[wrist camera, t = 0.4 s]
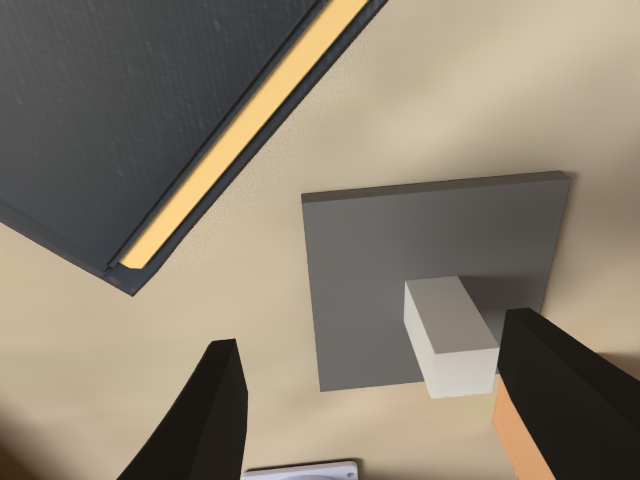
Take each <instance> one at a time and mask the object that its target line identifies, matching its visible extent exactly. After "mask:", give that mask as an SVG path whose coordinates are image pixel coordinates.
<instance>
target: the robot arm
mask: <svg viewBox="0 0 640 480" xmlns="http://www.w3.org/2000/svg"><path fill="white" fill-rule="evenodd" d="M497 368H498V370H499V373H500V375H501V378H502V380H503V383H504V385H505V388H506V390H507V392H508V395H509V397H510V399H511V401H512V403H513V405H514V407H515V409H516V411H517V412H518V414H519V416H520V418H521V420H522V421H523V423H524V425H525V427H526V428H527V430H528V432H529V434H530V435H531V437H532V439H533V441H534V442H535V444H536V446H537V448H538V449H539V451H540V453H541V455H542V456H543V458H544V460H545V462H546V463H547V465H548V467H549V469H550V470H551V472H552V474H553V476H554V478H555V479H556V480H640V381H639V380H637V379H635V378H634V377H632V376H630V375H629V374H627V373H625V372H624V371H622V370H621V369H619V368H618V367H616V366H615V365H613V364H611V363H610V362H608V361H607V360H605V359H604V358H602V357H601V356H599V355H598V354H596V353H595V352H593V351H592V350H590V349H589V348H587V347H586V346H585V345H583V344H582V343H580V342H579V341H577V340H576V339H574V338H573V337H572V336H570V335H569V334H567V333H566V332H564V331H563V330H561V329H560V328H559V327H557V326H556V325H554V324H553V323H551V322H550V321H549V320H547V319H546V318H544V317H543V316H541V315H540V314H538V313H537V312H535V311H534V310H532V309H531V308H529V307H527V308H518V309H508V310H506V314H505V320H504V326H503V332H502V338H501V343H500V349H499V355H498V361H497ZM247 413H248V390H247V386H246V382H245V378H244V373H243V369H242V365H241V360H240V356H239V352H238V348H237V343H236V339H227V340H217V341H212V342H211V343H210V344H209V345H208V347H207V349H206V351H205V353H204V354H203V356H202V358H201V360H200V361H199V363H198V365H197V367H196V368H195V370H194V372H193V373H192V375H191V377H190V378H189V380H188V382H187V383H186V385H185V386H184V388H183V390H182V391H181V393H180V394H179V396H178V397H177V399H176V400H175V402H174V404H173V405H172V407H171V408H170V410H169V411H168V413H167V414H166V415H165V417H164V418H163V420H162V421H161V422H160V424H159V425H158V427H157V428H156V429H155V431H154V432H153V434H152V435H151V436H150V438H149V439H148V441H147V442H146V443H145V445H144V446H143V447H142V448H141V450H140V451H139V452H138V454H137V455H136V456H135V457H134V459H133V460H132V461H131V462H130V464H129V465H128V466H127V467H126V469H125V470H124V471H123V472H122V473H121V475H120V476H119V477H118V478H117V479H116V480H240V475H241V468H242V461H243V454H244V447H245V440H246V433H247ZM241 480H358V468H357V464H356V463H355V462H353V461H346V462H336V463H327V464H317V465H308V466H298V467H289V468H280V469H270V470H261V471H251V472H245V473H243V474H242V475H241Z"/></svg>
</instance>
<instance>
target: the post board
mask: <svg viewBox="0 0 640 480" xmlns="http://www.w3.org/2000/svg"><path fill="white" fill-rule="evenodd" d="M570 183H571V178H569V177H568V176H566V175H565V174H563V173H562V172H560V171H550V172H539V173H528V174H517V175H506V176H495V177H484V178H473V179H462V180H451V181H440V182H429V183H418V184H407V185H396V186H385V187H374V188H363V189H352V190H341V191H330V192H319V193H308V194H301V198H302V210H303V220H304V230H305V240H306V250H307V260H308V270H309V281H310V291H311V301H312V311H313V321H314V331H315V341H316V352H317V362H318V372H319V382H320V392H325V391H335V390H345V389H354V388H364V387H374V386H384V385H394V384H404V383H413V382H423V381H425V383H426V386H427V388H428V391H429V394H430V397H431V399H436V398H445V397H455V396H465V395H474V394H484V393H492V388H493V383H494V377H495V374H500V373H499V370H498V368H497V361H498V355H499V349H500V343H501V338H502V332H503V326H504V320H505V314H506V310H508V309H518V308H527V307H529V308H531V309H532V310H534V311H535V312H537V313H538V314H539V313H540V309H541V305H542V301H543V296H544V292H545V288H546V284H547V280H548V275H549V271H550V267H551V263H552V259H553V254H554V250H555V246H556V242H557V237H558V233H559V229H560V225H561V221H562V216H563V212H564V208H565V204H566V200H567V195H568V191H569V187H570Z"/></svg>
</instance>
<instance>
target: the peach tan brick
mask: <svg viewBox="0 0 640 480" xmlns="http://www.w3.org/2000/svg"><path fill="white" fill-rule="evenodd" d="M492 423H493V425H494V427H495V430H496V432H497V434H498V436H499V438H500V440H501V442H502V444H503V446H504V448H505V451H506V453H507V455H508V457H509V459H510V461H511V463H512V465H513V467H514V470H515V472H516V474H517V476H518V478H519V480H556V479H555V478H554V476H553V474H552V472H551V470H550V469H549V467H548V465H547V463H546V462H545V460H544V458H543V456H542V455H541V453H540V451H539V449H538V448H537V446H536V444H535V442H534V441H533V439H532V437H531V435H530V434H529V432H528V430H527V428H526V427H525V425H524V423H523V421H522V420H521V418H520V416H519V414H518V412H517V411H516V409H515V407H514V405H513V403H512V401H511V399H510V397H509V395H508V392H507V390H506V388H505V385H504V383H503V380H502V378H501V381H500V386H499V391H498V396H497V401H496V406H495V411H494V416H493V421H492Z"/></svg>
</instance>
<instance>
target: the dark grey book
mask: <svg viewBox="0 0 640 480" xmlns="http://www.w3.org/2000/svg"><path fill="white" fill-rule="evenodd" d="M386 2H387V0H0V222H1V223H3V224H4V225H6V226H8V227H10V228H11V229H13V230H15V231H17V232H18V233H20V234H22V235H24V236H25V237H27V238H29V239H30V240H32V241H34V242H36V243H37V244H39V245H41V246H43V247H44V248H46V249H48V250H50V251H51V252H53V253H55V254H57V255H58V256H60V257H62V258H63V259H65V260H67V261H69V262H70V263H72V264H74V265H76V266H78V267H80V268H81V269H83V270H85V271H87V272H89V273H91V274H93V275H94V276H96V277H98V278H100V279H102V280H104V281H105V282H107V283H109V284H111V285H112V286H114V287H116V288H118V289H120V290H121V291H123V292H125V293H127V294H128V295H130V296H132V297H133V296H134V295H135V294H136V293H137V292H138V291H139V290H140V289H141V288H142V287H143V286H144V285H145V284H146V283H147V282H148V281H149V280H150V279H151V278H152V277H153V275H154V274H155V273H156V272H157V271H158V270H159V269H160V267H161V266H162V265H163V263H164V262H165V261H166V260H167V258H168V257H169V256H170V254H171V253H172V252H173V251H174V249H175V248H176V247H177V245H178V244H179V243H180V242H181V240H182V239H183V238H184V237H185V236H186V234H187V233H188V232H189V231H190V230H191V229H192V227H193V226H194V225H195V224H196V223H197V222H198V220H199V219H200V218H201V217H202V216H203V215H204V213H205V212H206V211H207V210H208V209H209V208H210V206H211V205H212V204H213V203H214V202H215V201H216V199H217V198H218V197H219V196H220V195H221V194H222V192H223V191H224V190H225V189H226V188H227V187H228V185H229V184H230V183H231V182H232V181H233V180H234V178H235V177H236V176H237V175H238V174H239V173H240V171H241V170H242V169H243V168H244V167H245V166H246V165H247V163H248V162H249V161H250V160H251V159H252V158H253V156H254V155H255V154H256V153H257V152H258V151H259V149H260V148H261V147H262V146H263V145H264V144H265V142H266V141H267V140H268V139H269V138H270V137H271V135H272V134H273V133H274V132H275V131H276V130H277V128H278V127H279V126H280V125H281V124H282V123H283V121H284V120H285V119H286V118H287V117H288V116H289V114H290V113H291V112H292V111H293V110H294V109H295V107H296V106H297V105H298V104H299V103H300V102H301V100H302V99H303V98H304V97H305V96H306V95H307V93H308V92H309V91H310V90H311V89H312V88H313V86H314V85H315V84H316V83H317V82H318V81H319V79H320V78H321V77H322V76H323V75H324V74H325V72H326V71H327V70H328V69H329V68H330V67H331V66H332V64H333V63H334V62H335V61H336V60H337V59H338V57H339V56H340V55H341V54H342V53H343V52H344V50H345V49H346V48H347V47H348V46H349V45H350V43H351V42H352V41H353V40H354V39H355V38H356V36H357V35H358V34H359V33H360V32H361V31H362V29H363V28H364V27H365V26H366V25H367V24H368V22H369V21H370V20H371V19H372V18H373V17H374V16H375V14H376V13H377V12H378V11H379V10H380V9H381V7H382V6H383V5H384V4H385V3H386Z"/></svg>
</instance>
